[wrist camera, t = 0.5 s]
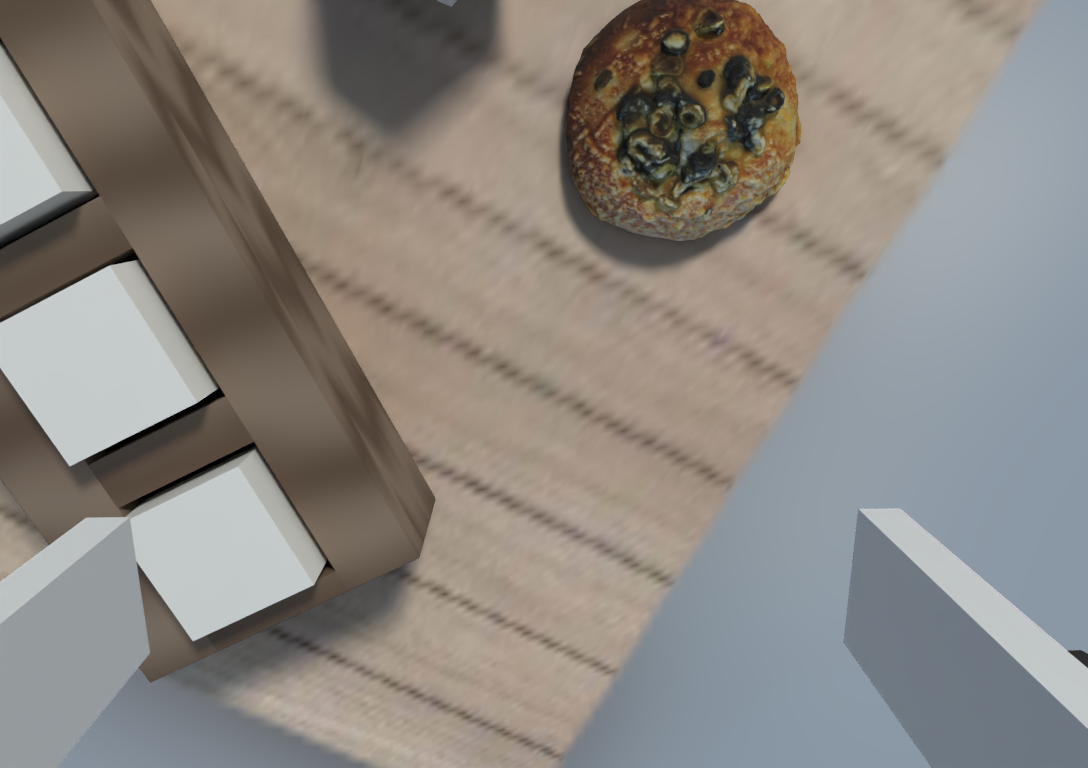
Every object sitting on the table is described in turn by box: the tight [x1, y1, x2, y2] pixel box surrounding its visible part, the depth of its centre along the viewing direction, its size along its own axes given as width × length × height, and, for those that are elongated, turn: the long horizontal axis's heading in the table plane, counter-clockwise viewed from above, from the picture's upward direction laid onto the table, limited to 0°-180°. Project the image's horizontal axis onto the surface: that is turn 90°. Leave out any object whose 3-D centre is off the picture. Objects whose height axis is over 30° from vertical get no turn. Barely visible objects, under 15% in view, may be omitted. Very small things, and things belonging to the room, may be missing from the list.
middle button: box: [0, 260, 220, 466], centre depth 31 cm, size 6×6×3 cm
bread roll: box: [566, 0, 801, 241], centre depth 34 cm, size 11×11×5 cm
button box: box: [0, 0, 435, 682], centre depth 34 cm, size 27×14×6 cm, turn 26°
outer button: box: [126, 445, 328, 641], centre depth 33 cm, size 6×6×3 cm
